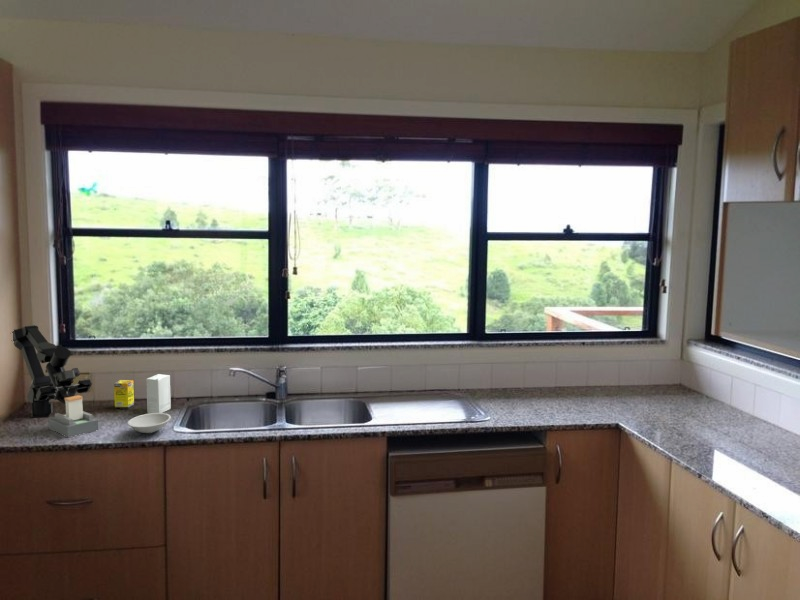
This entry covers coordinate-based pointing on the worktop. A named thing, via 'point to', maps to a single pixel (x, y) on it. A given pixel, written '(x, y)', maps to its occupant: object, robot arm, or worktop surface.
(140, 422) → the dish
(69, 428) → the grey holder base
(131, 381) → the supplement box
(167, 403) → the skincare box
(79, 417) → the handle
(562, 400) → the worktop surface
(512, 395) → the worktop surface
